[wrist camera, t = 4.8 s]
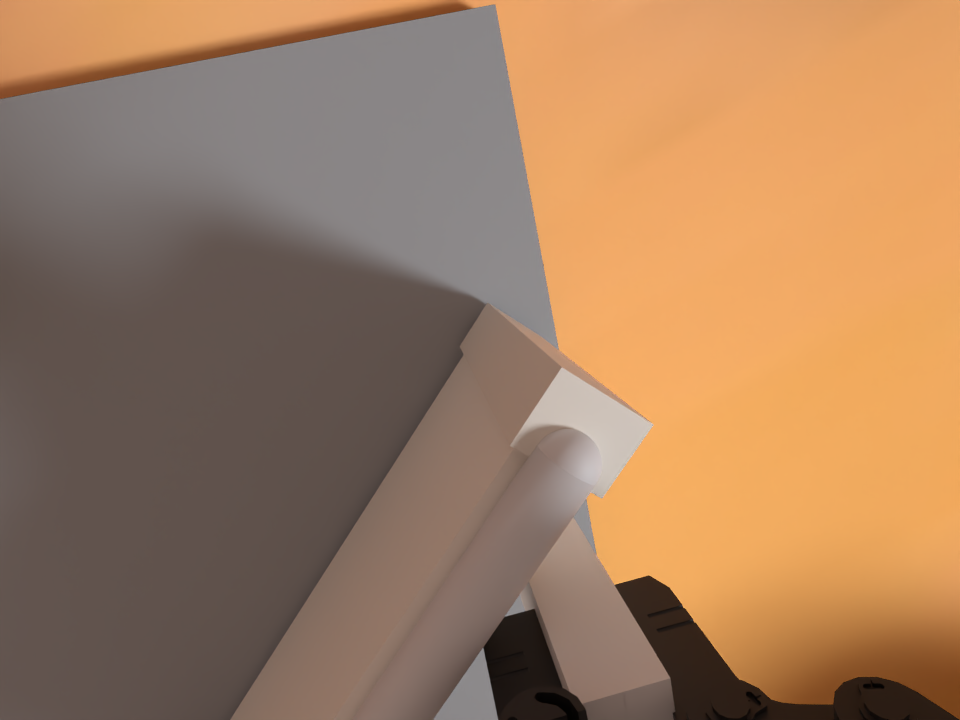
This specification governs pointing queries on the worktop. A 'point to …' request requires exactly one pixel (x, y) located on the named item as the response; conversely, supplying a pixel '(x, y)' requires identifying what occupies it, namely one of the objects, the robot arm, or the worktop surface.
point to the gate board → (235, 345)
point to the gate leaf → (450, 533)
